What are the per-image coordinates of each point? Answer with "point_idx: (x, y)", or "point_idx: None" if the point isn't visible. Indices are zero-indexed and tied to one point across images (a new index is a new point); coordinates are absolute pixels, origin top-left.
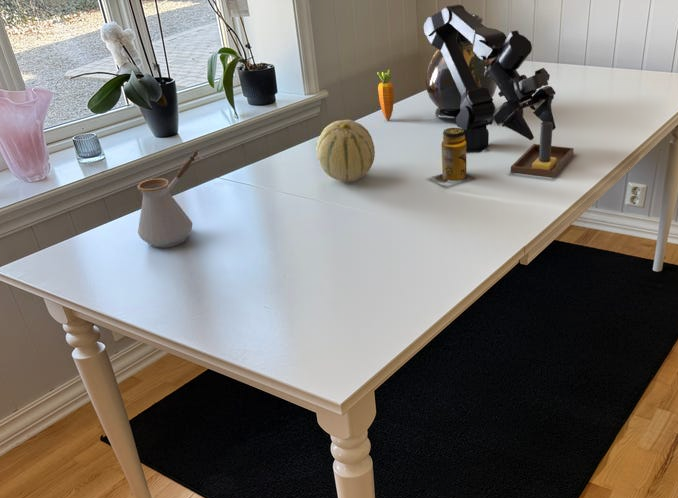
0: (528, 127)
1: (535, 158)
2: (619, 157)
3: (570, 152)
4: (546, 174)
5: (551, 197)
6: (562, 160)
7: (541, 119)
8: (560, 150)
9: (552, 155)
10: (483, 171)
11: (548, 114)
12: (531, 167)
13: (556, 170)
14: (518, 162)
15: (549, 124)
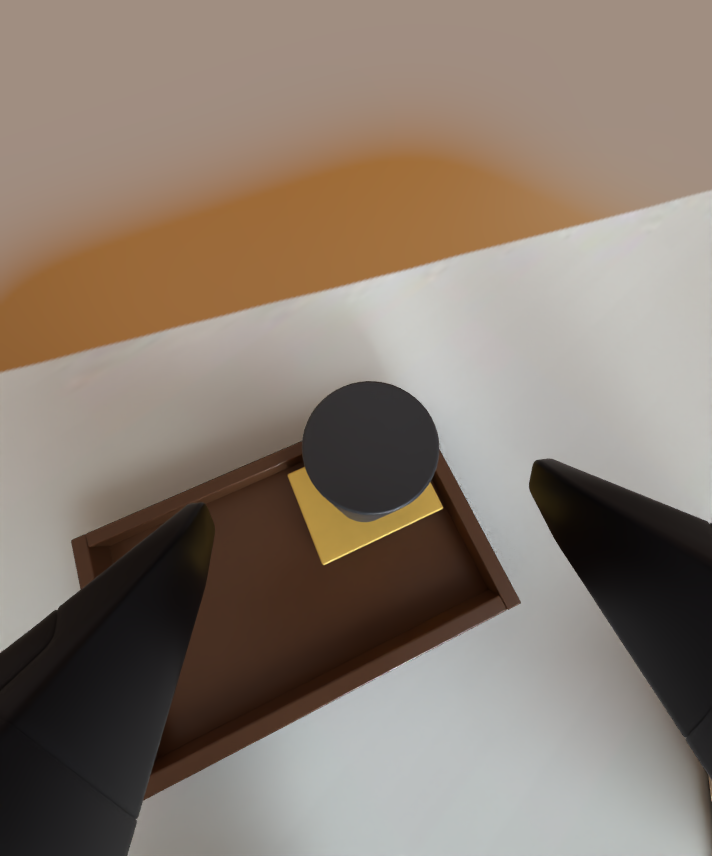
0: (630, 511)
1: (267, 646)
2: (17, 378)
3: (138, 511)
4: None
5: (529, 307)
6: (266, 459)
7: (158, 729)
8: None
9: None
10: (585, 755)
11: (107, 639)
12: (382, 563)
13: None
14: (436, 625)
15: (388, 389)
